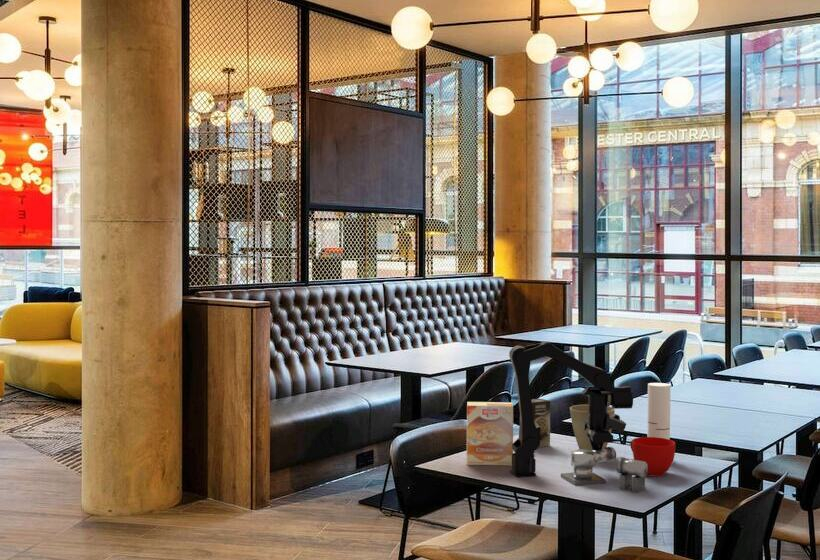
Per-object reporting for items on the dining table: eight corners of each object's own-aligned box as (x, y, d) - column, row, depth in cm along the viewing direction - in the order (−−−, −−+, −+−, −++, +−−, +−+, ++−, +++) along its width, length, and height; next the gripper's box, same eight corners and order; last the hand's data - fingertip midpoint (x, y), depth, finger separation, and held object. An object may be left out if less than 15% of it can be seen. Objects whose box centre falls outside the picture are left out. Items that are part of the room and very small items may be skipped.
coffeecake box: (466, 465, 284) (466, 405, 283) (466, 459, 291) (466, 401, 290) (513, 465, 283) (513, 405, 282) (512, 460, 290) (512, 401, 289)
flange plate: (575, 485, 260) (575, 471, 260) (560, 476, 269) (560, 463, 269) (605, 482, 262) (606, 469, 262) (590, 474, 272) (590, 461, 272)
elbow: (582, 470, 261) (582, 455, 261) (566, 465, 267) (566, 450, 267) (619, 463, 269) (619, 449, 269) (602, 458, 275) (602, 444, 275)
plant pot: (612, 450, 304) (613, 404, 303) (616, 461, 289) (616, 412, 288) (568, 449, 306) (569, 403, 305) (570, 459, 291) (570, 411, 290)
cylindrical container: (652, 456, 295) (653, 382, 294) (673, 459, 291) (673, 384, 290) (643, 460, 290) (644, 384, 289) (664, 463, 285) (665, 386, 284)
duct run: (616, 488, 256) (616, 458, 256) (623, 485, 260) (624, 455, 260) (640, 493, 251) (640, 462, 251) (647, 489, 255) (648, 459, 255)
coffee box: (530, 448, 306) (530, 402, 306) (519, 445, 312) (519, 399, 311) (550, 445, 311) (551, 400, 310) (539, 442, 316) (540, 397, 316)
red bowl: (647, 463, 285) (647, 433, 285) (684, 476, 270) (684, 443, 270) (615, 468, 280) (615, 436, 279) (650, 480, 265) (651, 447, 264)
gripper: (630, 415, 263) (629, 466, 264) (617, 402, 281) (617, 450, 282) (593, 415, 263) (592, 466, 264) (582, 402, 282) (582, 450, 283)
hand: (597, 458), depth 273 cm, fingers closed
